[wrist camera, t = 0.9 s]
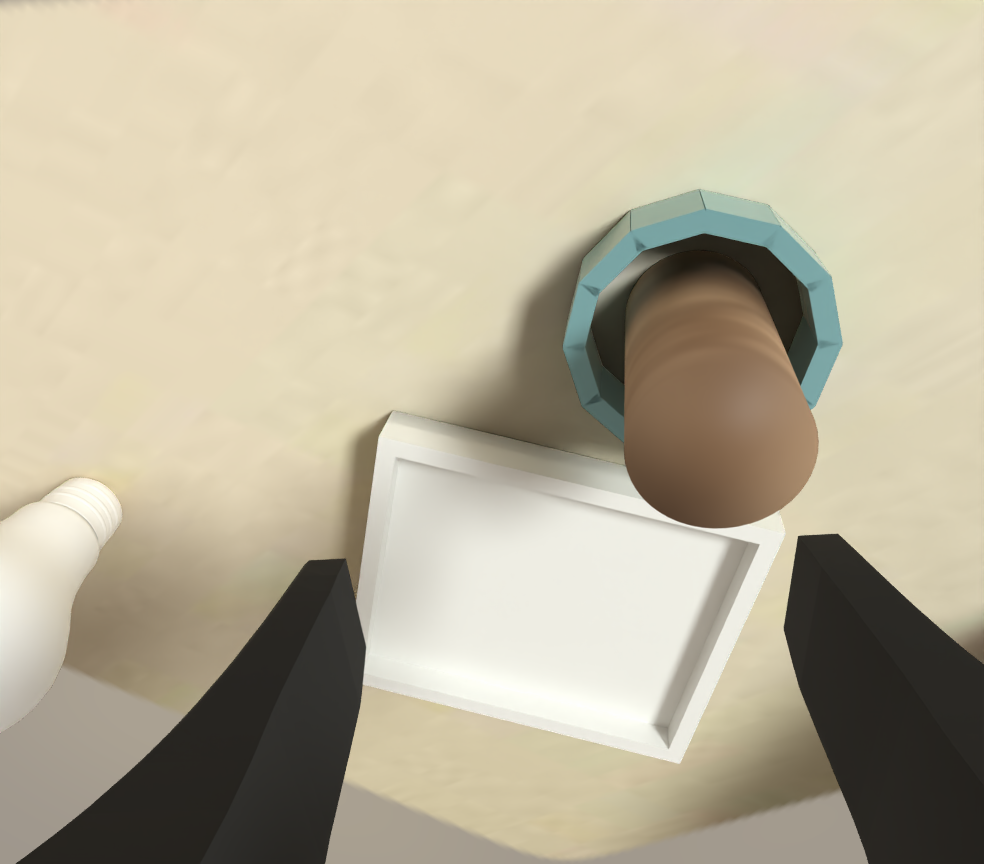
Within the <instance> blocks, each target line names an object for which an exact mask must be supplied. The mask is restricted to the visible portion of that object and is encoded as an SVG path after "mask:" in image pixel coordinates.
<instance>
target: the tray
mask: <svg viewBox="0 0 984 864" xmlns="http://www.w3.org/2000/svg"><path fill="white" fill-rule="evenodd" d="M785 534H786V533H785V529H784V526H783V522H782V519H781V515H780V512H779V510H778V511H777V512H775V513H774V514H772V515H770V516H768V517H766V518H764V519H762V520H759V521H756V522H754V523H751V524H747V525H743V526H739V527H732V528H717V529H713V528H701V527H696V526H690V525H687V524H684V523H680V522H678V521H675V520H673V519H671V518H668V517H667V516H665V515H663V514H661V513H660V512H658V511H657V510H656V509H654V508H653V507H652V506H650V505H649V504H648V503H647V502H646V501H645V500H644V499H643V498H642V497H641V495H640V494H639V493H638V491H637V490H636V489H635V487H634V485H633V483H632V482H631V480H630V477H629V474H628V472H627V468H626V466H624V465H620V464H616V463H612V462H608V461H603V460H599V459H595V458H591V457H587V456H582V455H578V454H574V453H570V452H566V451H561V450H557V449H553V448H549V447H545V446H540V445H536V444H532V443H528V442H524V441H519V440H515V439H511V438H507V437H503V436H498V435H494V434H490V433H486V432H482V431H477V430H473V429H469V428H465V427H461V426H456V425H452V424H448V423H444V422H440V421H435V420H431V419H427V418H423V417H419V416H414V415H410V414H406V413H402V412H398V411H392V413H391V415H390V417H389V419H388V420H387V422H386V424H385V426H384V428H383V430H382V431H381V433H380V435H379V439H378V446H377V453H376V460H375V468H374V475H373V482H372V490H371V497H370V504H369V512H368V519H367V526H366V534H365V541H364V548H363V556H362V563H361V570H360V577H359V585H358V592H357V599H356V605H357V609H358V613H359V618H360V622H361V626H362V631H363V635H364V639H365V643H366V656H365V667H364V677H363V685H366V686H370V687H374V688H378V689H382V690H386V691H390V692H394V693H398V694H402V695H406V696H410V697H414V698H418V699H422V700H426V701H430V702H434V703H438V704H442V705H446V706H450V707H454V708H458V709H462V710H466V711H470V712H474V713H478V714H482V715H486V716H490V717H494V718H498V719H502V720H506V721H510V722H514V723H518V724H522V725H526V726H530V727H534V728H538V729H542V730H546V731H550V732H554V733H558V734H562V735H566V736H570V737H574V738H578V739H582V740H586V741H590V742H594V743H598V744H602V745H606V746H610V747H614V748H618V749H622V750H626V751H630V752H634V753H638V754H642V755H646V756H650V757H654V758H658V759H662V760H666V761H670V762H674V763H678V764H680V762H681V760H682V758H683V756H684V754H685V752H686V749H687V747H688V745H689V743H690V741H691V739H692V736H693V734H694V732H695V730H696V728H697V726H698V723H699V721H700V719H701V717H702V715H703V712H704V710H705V708H706V706H707V704H708V702H709V699H710V697H711V695H712V693H713V691H714V689H715V686H716V684H717V682H718V680H719V678H720V676H721V673H722V671H723V669H724V667H725V665H726V663H727V660H728V658H729V656H730V654H731V652H732V650H733V647H734V645H735V643H736V641H737V639H738V636H739V634H740V632H741V630H742V628H743V626H744V623H745V621H746V619H747V617H748V615H749V613H750V610H751V608H752V606H753V604H754V602H755V600H756V597H757V595H758V593H759V591H760V589H761V587H762V584H763V582H764V580H765V578H766V576H767V573H768V571H769V569H770V567H771V565H772V563H773V560H774V558H775V556H776V554H777V552H778V550H779V547H780V545H781V543H782V541H783V539H784V537H785Z"/></svg>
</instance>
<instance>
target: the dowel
mask: <svg viewBox="0 0 984 864" xmlns="http://www.w3.org/2000/svg"><path fill="white" fill-rule="evenodd" d="M818 442H819V441H818V431H817V427H816V423H815V420H814V417H813V415H812V413H811V410H810V408H809V405H808V403H807V401H806V398H805V396H804V394H803V391H802V389H801V386H800V384H799V382H798V379H797V377H796V375H795V372H794V370H793V367H792V365H791V363H790V360H789V358H788V355H787V353H786V351H785V348H784V346H783V344H782V341H781V339H780V336H779V334H778V332H777V329H776V327H775V325H774V322H773V320H772V317H771V315H770V313H769V310H768V308H767V305H766V303H765V301H764V298H763V296H762V294H761V291H760V289H759V287H758V285H757V282H756V281H755V279H754V278H753V276H752V275H751V274H750V273H749V272H748V270H747V269H746V268H744V267H743V266H742V265H741V264H740V263H738V262H737V261H735V260H733V259H732V258H730V257H727V256H725V255H722V254H719V253H716V252H710V251H697V250H696V251H686V252H682V253H677V254H675V255H672V256H669V257H667V258H665V259H663V260H661V261H659V262H658V263H656V264H655V265H653V266H652V267H651V268H649V269H648V270H647V271H646V272H645V273H644V274H643V275H642V276H641V277H640V279H639V280H638V281H637V283H636V284H635V286H634V288H633V289H632V291H631V293H630V296H629V299H628V302H627V306H626V313H625V399H624V456H625V464H626V468H627V472H628V474H629V477H630V480H631V482H632V483H633V485H634V487H635V489H636V490H637V491H638V493H639V494H640V495H641V497H642V498H643V499H644V500H645V501H646V502H647V503H648V504H649V505H650V506H652V507H653V508H654V509H656V510H657V511H658V512H660V513H661V514H663V515H665V516H667V517H668V518H671V519H673V520H675V521H678V522H680V523H684V524H687V525H690V526H696V527H701V528H713V529H717V528H732V527H739V526H743V525H747V524H751V523H754V522H756V521H759V520H762V519H764V518H766V517H768V516H770V515H772V514H774V513H775V512H777V511H778V510H780V509H782V508H783V507H784V506H785V505H787V504H788V503H789V502H790V501H792V500H793V499H794V498H795V497H796V495H797V494H798V493H799V492H800V491H801V490H802V488H803V487H804V486H805V484H806V483H807V481H808V479H809V477H810V476H811V474H812V471H813V469H814V466H815V463H816V459H817V454H818Z"/></svg>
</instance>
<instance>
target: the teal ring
mask: <svg viewBox="0 0 984 864" xmlns="http://www.w3.org/2000/svg"><path fill="white" fill-rule="evenodd" d="M703 233H707V234H711V235H715V236H720V237H724V238H729V239H733V240H737V241H742V242H746V243H751V244H755V245H759V246H764V247H767V248H768V249H769V250H770V251H771V252H772V253H773V254H774V255H775V256H776V257H777V258H778V259H779V260H780V261H781V262H782V263H783V264H784V265H785V266H786V267H787V268H788V269H789V270H790V271H791V272H792V273H793V274H794V275H795V276H796V279H797V284H798V290H799V295H800V300H801V306H802V311H803V317H802V319H801V322H800V324H799V327H798V329H797V332H796V334H795V336H794V339H793V341H792V344H791V346H790V349H789V351H788V354H787V355H788V358H789V360H790V363H791V365H792V367H793V370H794V372H795V375H796V377H797V379H798V382H799V384H800V386H801V389H802V391H803V394H804V396H805V398H806V401H807V403H808V405H809V408H810V410H811V409H813V408H814V407H815V406H816V404H817V401H818V399H819V397H820V395H821V392H822V390H823V388H824V385H825V383H826V381H827V379H828V376H829V374H830V372H831V370H832V367H833V365H834V363H835V360H836V358H837V356H838V354H839V351H840V349H841V347H842V345H843V344H842V343H843V342H842V336H841V330H840V324H839V318H838V312H837V306H836V301H835V295H834V289H833V283H832V277H831V275H830V274H829V272H828V271H827V269H826V268H825V266H824V265H823V264H822V262H821V261H820V259H819V258H818V256H817V255H816V253H815V252H814V251H813V250H812V249H811V248H810V247H809V246H808V245H807V244H806V242H805V241H804V240H803V239H802V238H801V237H800V236H799V235H798V234H797V233H796V232H795V231H794V230H793V229H792V228H791V227H790V226H789V225H788V224H787V223H786V222H785V221H784V220H783V219H782V218H781V217H780V216H779V215H778V214H777V213H776V212H775V211H774V210H773V209H772V208H771V207H770V206H769V205H768V204H763V203H759V202H754V201H750V200H745V199H741V198H736V197H732V196H728V195H723V194H719V193H714V192H710V191H705V190H701V189H700V190H699V189H698V190H694V191H691V192H688V193H685V194H681V195H678V196H675V197H671V198H668V199H665V200H662V201H658V202H655V203H652V204H648V205H645V206H642V207H639V208H635V209H632V210H631V211H629V212H628V213H627V214H626V215H625V216H624V217H623V218H622V219H621V220H620V221H619V222H618V223H617V224H616V225H615V226H614V227H613V228H612V229H611V230H610V231H609V232H608V233H607V234H606V235H605V236H604V238H603V239H602V240H601V241H600V242H599V243H598V244H597V245H596V246H595V247H594V248H593V249H592V250H591V251H590V252H589V253H588V254H587V255H586V256H585V257H584V258H583V260H582V264H581V268H580V272H579V276H578V280H577V284H576V288H575V292H574V296H573V300H572V304H571V308H570V312H569V316H568V320H567V325H566V331H565V337H564V342H563V350H564V353H565V357H566V360H567V363H568V366H569V369H570V372H571V375H572V378H573V381H574V384H575V387H576V390H577V393H578V396H579V399H580V402H581V406H582V407H583V408H584V409H585V410H586V411H587V412H589V413H590V414H591V415H592V416H593V417H594V418H596V419H597V420H598V421H599V422H600V423H601V424H602V425H604V426H605V427H606V428H607V429H608V430H609V431H611V432H612V433H613V434H614V435H615V436H616V437H617V438H619V439H620V440H621V441H622V442H623V443H624V399H625V385H624V384H623V383H621V382H620V381H619V380H618V379H617V378H616V377H615V376H614V375H612V374H611V373H610V372H609V371H608V370H607V369H606V368H605V367H603V366H602V362H601V359H600V356H599V353H598V349H597V346H596V343H595V339H594V336H593V333H592V330H591V322H592V318H593V314H594V311H595V307H596V303H597V299H598V296H599V293H600V292H601V291H602V290H603V289H604V288H605V287H606V286H607V285H608V284H609V283H610V282H611V281H612V280H613V279H614V278H615V277H616V276H617V275H618V274H619V273H620V272H621V271H622V270H623V269H625V268H626V267H627V266H628V265H629V264H630V263H631V262H632V261H633V260H634V259H635V258H636V257H637V256H638V255H639V254H640V253H641V252H642V251H644V250H647V249H651V248H654V247H658V246H661V245H664V244H668V243H671V242H675V241H678V240H682V239H685V238H689V237H692V236H696V235H699V234H703Z"/></svg>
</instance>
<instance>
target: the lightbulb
mask: <svg viewBox="0 0 984 864" xmlns="http://www.w3.org/2000/svg"><path fill="white" fill-rule="evenodd" d="M121 521H122V509H121V505H120V502H119V500H118V498H117V497H116V495H115V494H114V493H113V492H112V491H111V490H110V489H109V488H108V487H107V486H105V485H104V484H102V483H100V482H98V481H96V480H93V479H89V478H72V479H69V480H67V481H65V482H64V483H63V484H61V485H60V486H59V487H57V488H55V489H53V490H52V491H51V492H50V493H49V494H48V495H46V496H45V497H43V498H42V499H41V501H39V502H34V503H30V504H28V505H25V506H23V507H21V508H20V509H19V510H17V511H16V512H15V513H13V514H12V515H11V516H9V517H8V518H6V519H5V520H3V521H1V522H0V733H2V732H3V731H5V730H6V729H8V728H10V727H11V726H13V725H14V724H16V723H17V722H19V721H20V720H21V719H23V718H24V717H25V716H26V715H27V714H28V713H30V712H31V711H32V710H33V709H34V708H35V707H36V706H37V704H38V703H39V702H40V701H41V700H42V698H43V697H44V696H45V695H46V693H47V692H48V691H49V690H50V688H51V687H52V686H53V683H54V681H55V679H56V677H57V675H58V673H59V671H60V669H61V667H62V664H63V661H64V658H65V655H66V649H67V644H68V638H69V633H70V622H71V609H72V605H73V602H74V599H75V596H76V593H77V592H78V590H79V588H80V586H81V584H82V583H83V581H84V579H85V577H86V576H87V575H88V574H89V572H90V571H91V570H92V568H93V567H94V566H95V564H96V562H97V559H98V557H99V551H100V550H101V549H102V547H103V546H104V544H106V542H107V541H108V540H109V538H110V537H111V536H112V535H113V534H114V532H115V531H116V529H117V528H118V527H119V525H120V524H121Z"/></svg>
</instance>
